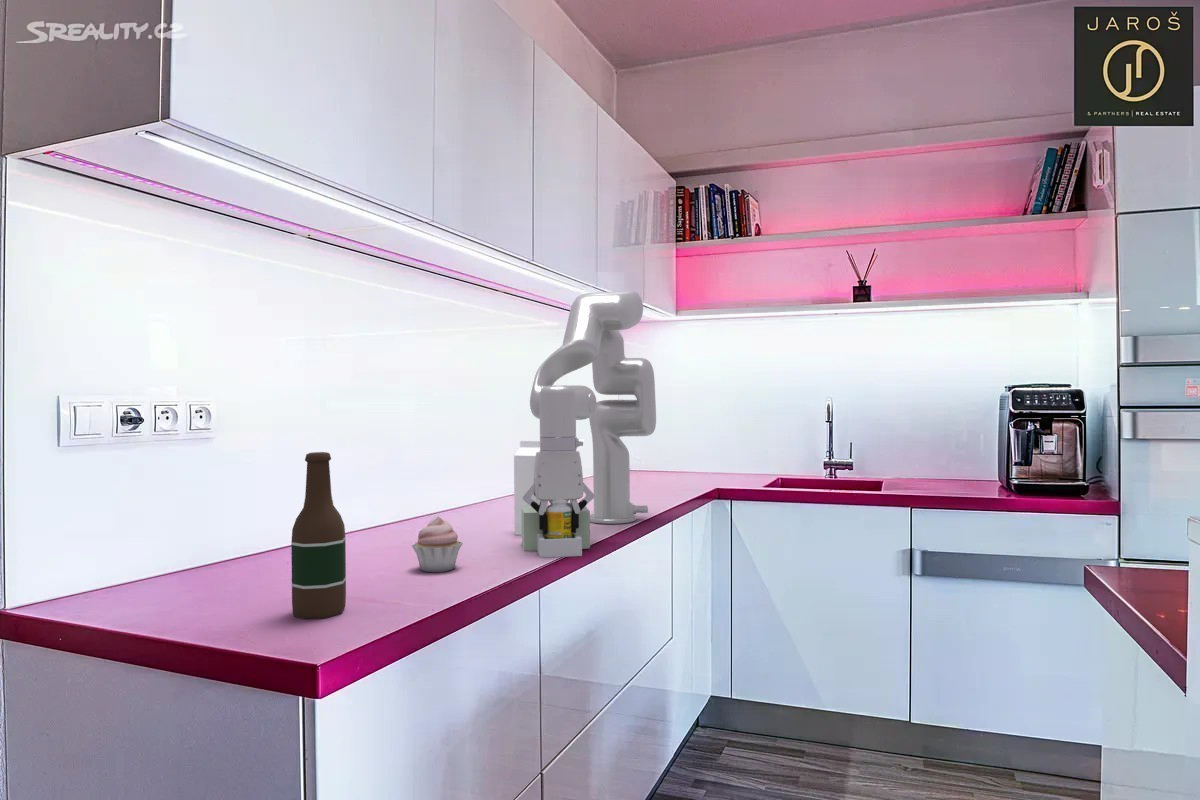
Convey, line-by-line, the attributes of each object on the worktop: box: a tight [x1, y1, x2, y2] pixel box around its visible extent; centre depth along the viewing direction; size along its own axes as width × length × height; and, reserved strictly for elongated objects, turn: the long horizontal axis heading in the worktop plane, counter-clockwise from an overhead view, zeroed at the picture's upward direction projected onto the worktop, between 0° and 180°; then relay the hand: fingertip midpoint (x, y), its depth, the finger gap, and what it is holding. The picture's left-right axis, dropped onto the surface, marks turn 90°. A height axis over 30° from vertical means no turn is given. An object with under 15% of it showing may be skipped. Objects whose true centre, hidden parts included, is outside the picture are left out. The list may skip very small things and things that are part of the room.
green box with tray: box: [521, 502, 591, 559], centre depth 162 cm, size 14×16×9 cm
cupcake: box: [411, 515, 464, 573], centre depth 143 cm, size 9×9×10 cm
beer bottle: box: [290, 451, 347, 620], centre depth 114 cm, size 8×8×24 cm
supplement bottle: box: [546, 498, 572, 539], centre depth 158 cm, size 5×5×10 cm
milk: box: [513, 440, 549, 536], centre depth 181 cm, size 6×6×22 cm
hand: (559, 531), depth 158 cm, fingers closed on supplement bottle, 5 cm apart
